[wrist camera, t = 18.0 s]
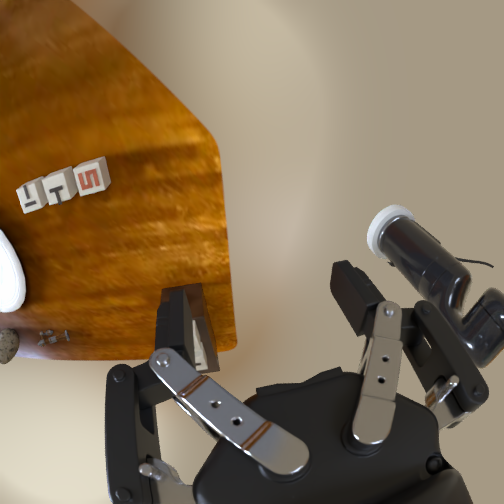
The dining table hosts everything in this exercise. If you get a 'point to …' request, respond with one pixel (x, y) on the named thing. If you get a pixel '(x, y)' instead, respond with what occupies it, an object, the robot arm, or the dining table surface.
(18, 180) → the dining table surface
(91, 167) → the tile
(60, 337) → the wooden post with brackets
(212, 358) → the tile rack
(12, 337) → the decorative egg
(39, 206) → the letter cube pair
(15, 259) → the plate
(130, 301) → the dining table surface
